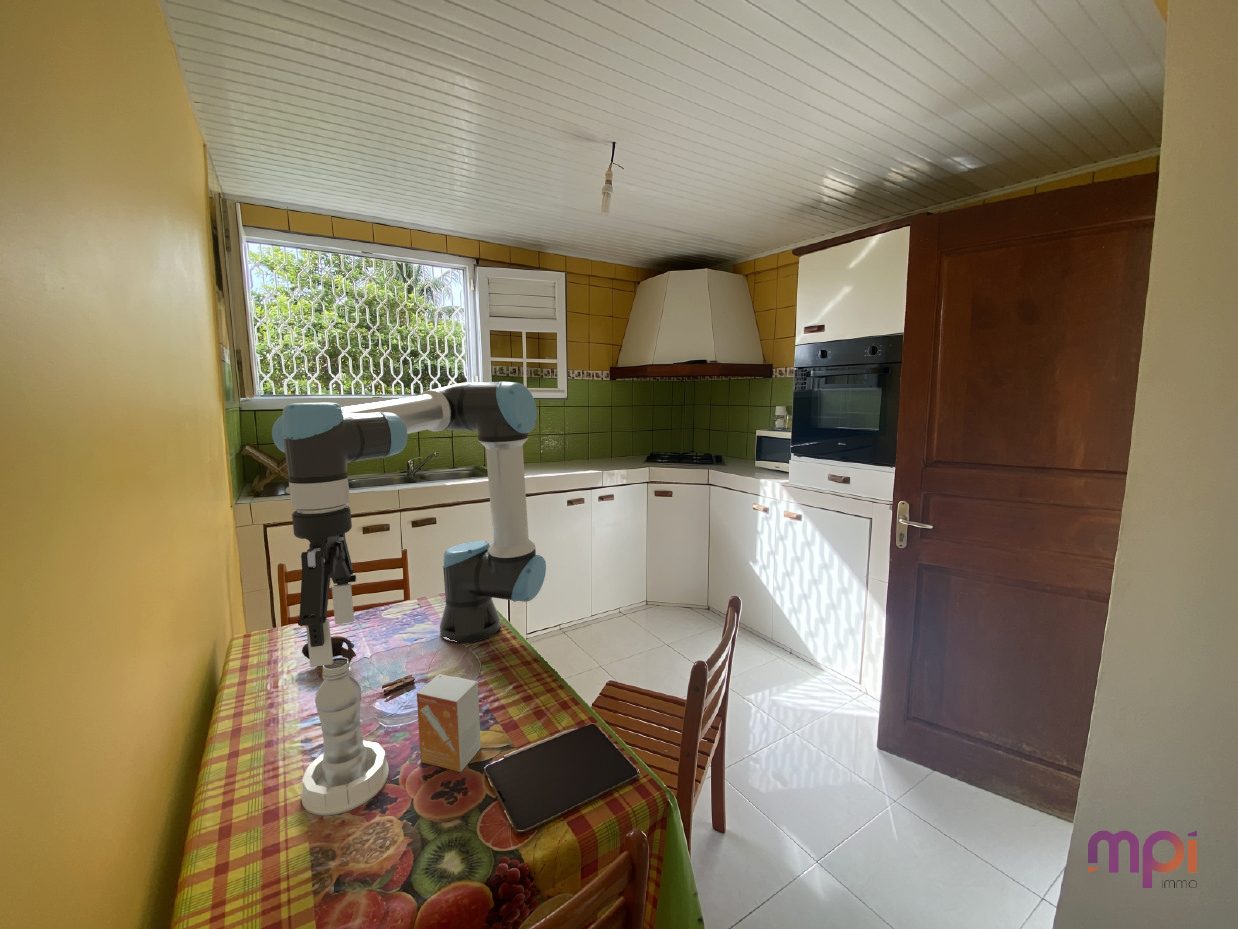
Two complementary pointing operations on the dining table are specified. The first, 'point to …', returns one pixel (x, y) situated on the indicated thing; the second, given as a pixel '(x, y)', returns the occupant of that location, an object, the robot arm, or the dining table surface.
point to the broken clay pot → (335, 650)
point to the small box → (449, 722)
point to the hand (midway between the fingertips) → (334, 641)
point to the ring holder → (344, 797)
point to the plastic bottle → (341, 724)
